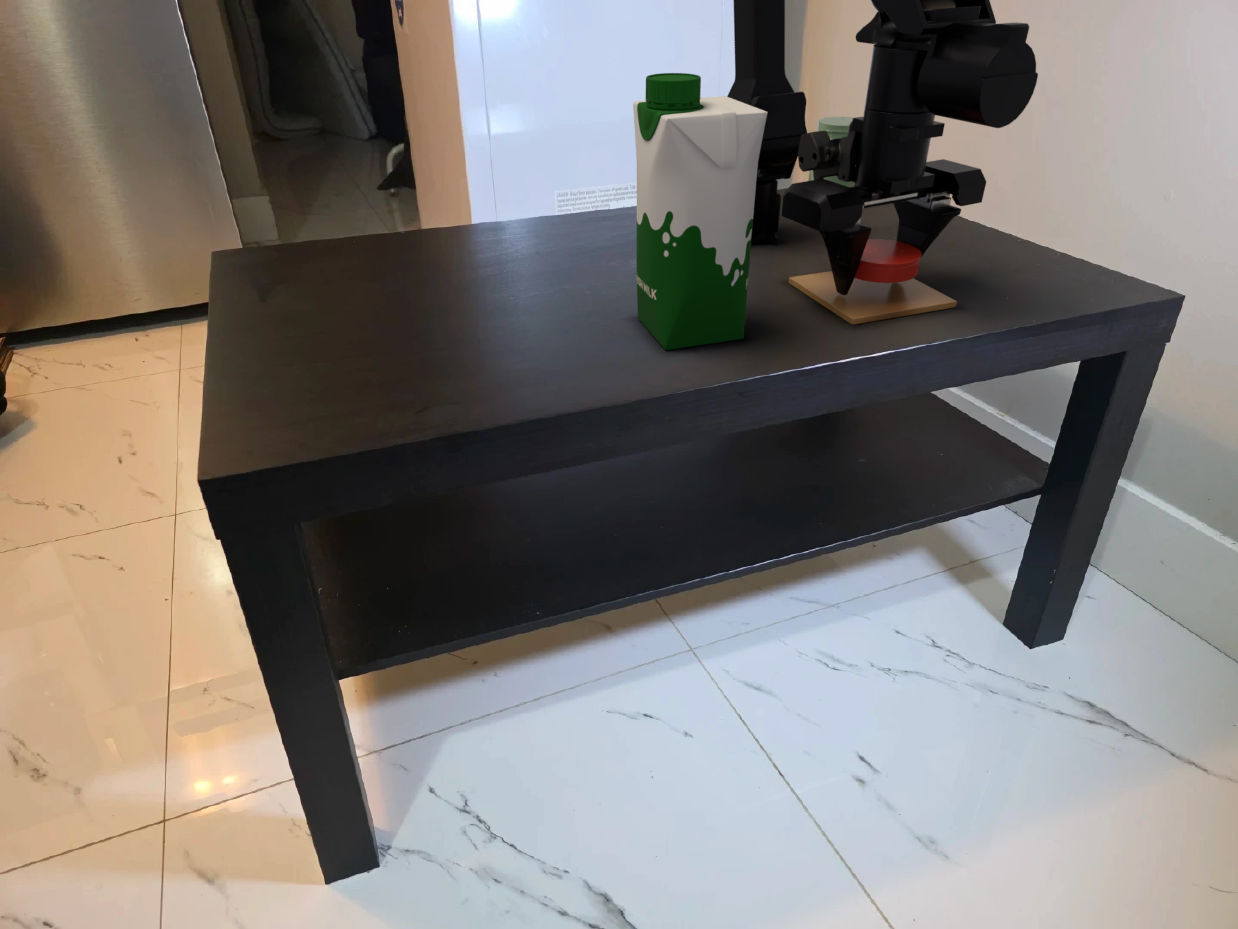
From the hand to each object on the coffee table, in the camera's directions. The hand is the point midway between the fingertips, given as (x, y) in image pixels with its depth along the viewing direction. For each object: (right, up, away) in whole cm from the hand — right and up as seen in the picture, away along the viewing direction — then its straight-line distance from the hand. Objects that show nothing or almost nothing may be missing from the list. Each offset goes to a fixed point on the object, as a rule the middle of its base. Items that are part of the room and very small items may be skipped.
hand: (870, 286), depth 76 cm
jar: (+4, +17, +28) cm, 32 cm away
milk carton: (-17, -5, -6) cm, 19 cm away
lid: (0, +2, -2) cm, 3 cm away
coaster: (0, -1, 0) cm, 1 cm away
